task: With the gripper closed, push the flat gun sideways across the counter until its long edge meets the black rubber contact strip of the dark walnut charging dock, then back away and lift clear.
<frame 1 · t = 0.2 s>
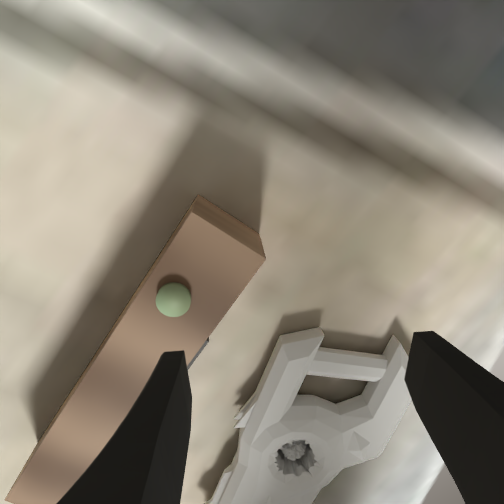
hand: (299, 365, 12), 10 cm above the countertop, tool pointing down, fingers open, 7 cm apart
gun: (299, 425, 27), on the countertop
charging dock: (139, 347, 24), on the countertop
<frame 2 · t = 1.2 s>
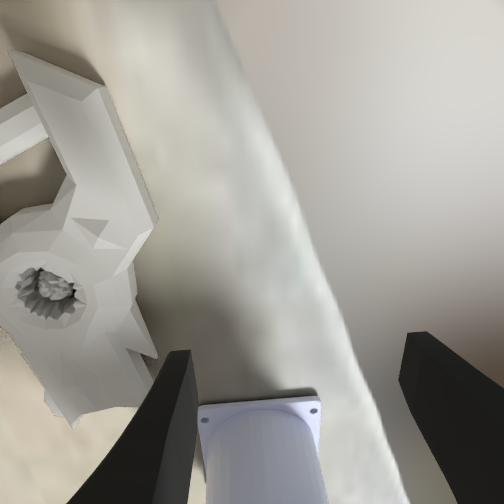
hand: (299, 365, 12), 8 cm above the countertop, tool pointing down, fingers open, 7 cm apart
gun: (78, 256, 20), on the countertop
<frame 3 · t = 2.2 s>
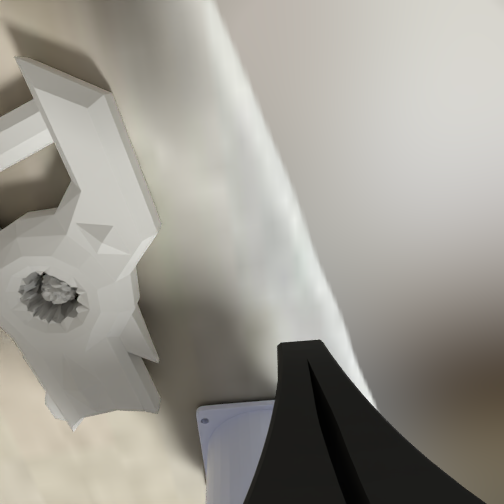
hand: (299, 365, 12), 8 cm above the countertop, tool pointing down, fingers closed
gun: (80, 260, 20), on the countertop
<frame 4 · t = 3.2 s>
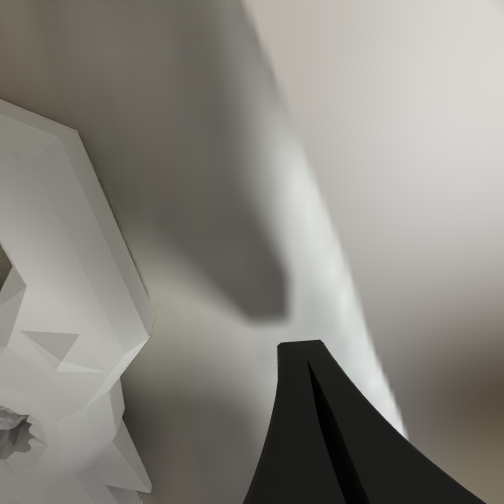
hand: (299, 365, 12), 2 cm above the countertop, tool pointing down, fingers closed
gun: (41, 354, 14), on the countertop
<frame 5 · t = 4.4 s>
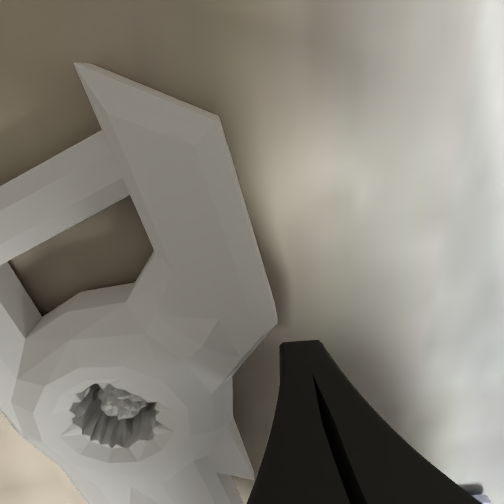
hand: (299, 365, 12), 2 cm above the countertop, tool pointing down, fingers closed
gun: (147, 345, 14), on the countertop, touching gripper
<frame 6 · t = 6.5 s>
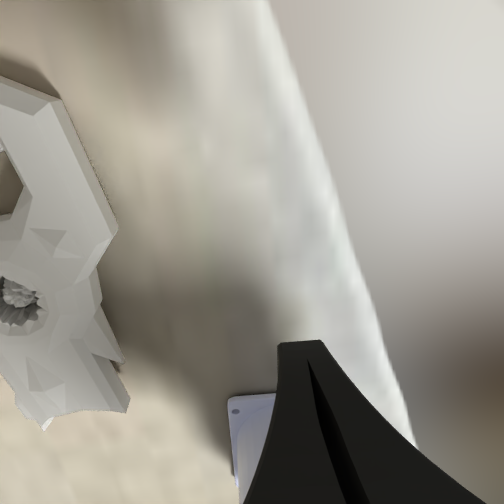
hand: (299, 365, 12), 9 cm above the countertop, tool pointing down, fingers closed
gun: (44, 263, 20), on the countertop
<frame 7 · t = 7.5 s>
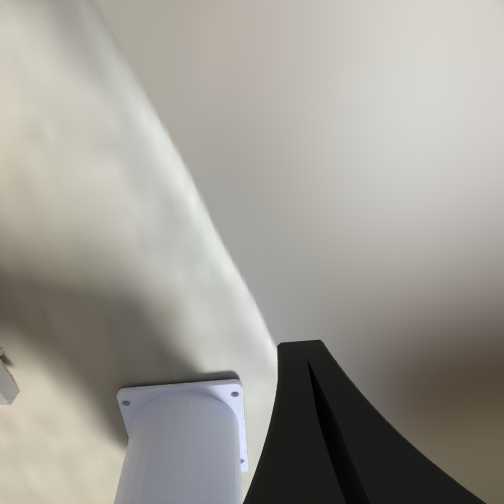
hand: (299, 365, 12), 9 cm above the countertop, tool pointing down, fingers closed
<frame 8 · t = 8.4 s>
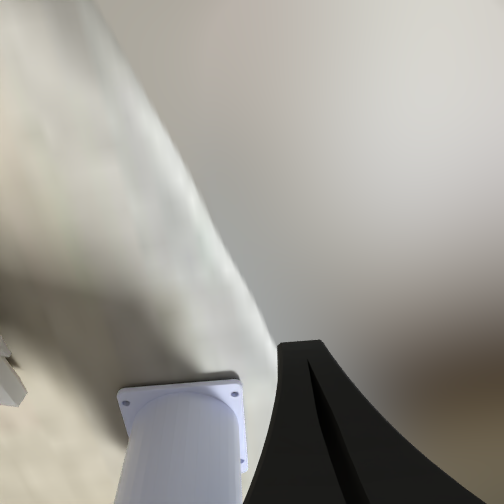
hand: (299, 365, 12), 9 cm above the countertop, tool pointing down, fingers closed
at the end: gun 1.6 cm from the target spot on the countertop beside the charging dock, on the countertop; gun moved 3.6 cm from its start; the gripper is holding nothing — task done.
